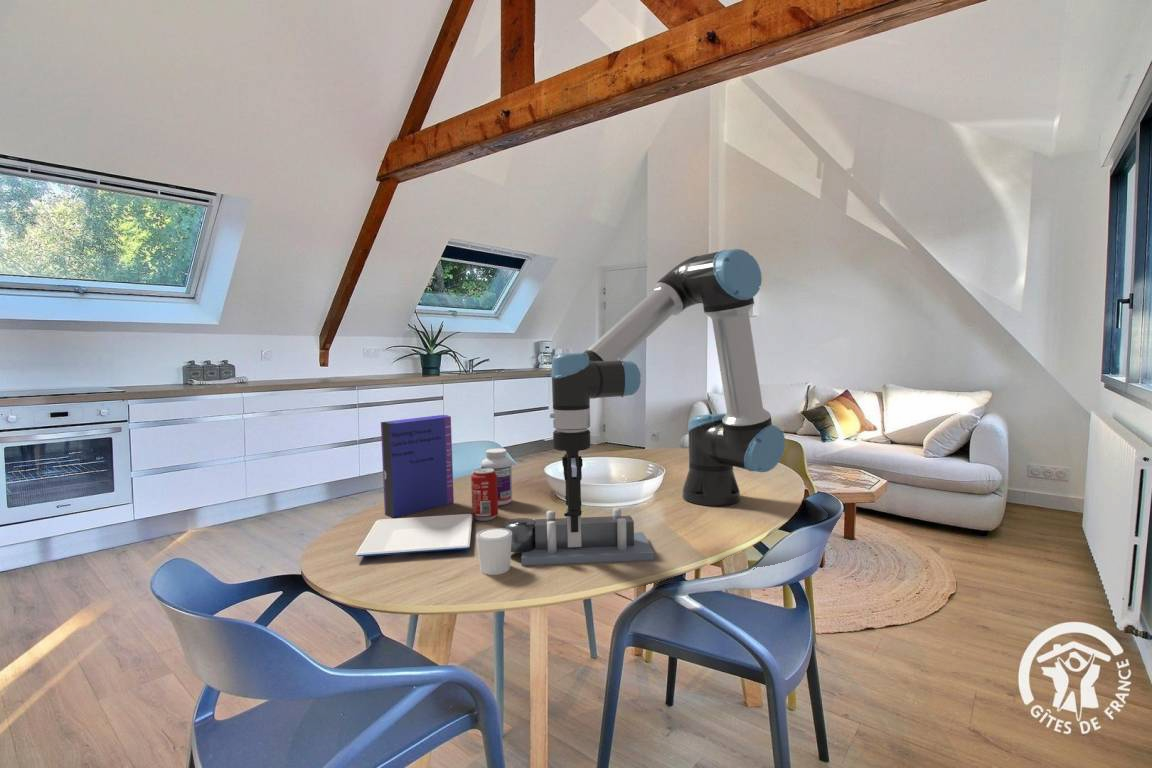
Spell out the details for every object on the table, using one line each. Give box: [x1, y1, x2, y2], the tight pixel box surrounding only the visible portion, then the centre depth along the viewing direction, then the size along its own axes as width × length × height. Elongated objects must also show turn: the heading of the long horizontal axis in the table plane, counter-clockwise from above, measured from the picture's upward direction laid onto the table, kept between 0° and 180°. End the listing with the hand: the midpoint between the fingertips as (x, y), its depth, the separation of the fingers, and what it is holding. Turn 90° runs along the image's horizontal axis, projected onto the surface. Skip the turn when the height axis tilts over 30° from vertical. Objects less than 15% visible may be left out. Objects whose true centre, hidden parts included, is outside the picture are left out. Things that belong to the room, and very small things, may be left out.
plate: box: [355, 513, 473, 557], centre depth 124 cm, size 22×22×2 cm
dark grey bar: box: [504, 515, 635, 554], centre depth 115 cm, size 26×6×5 cm, turn 94°
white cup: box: [475, 527, 512, 576], centre depth 107 cm, size 7×7×7 cm
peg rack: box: [520, 507, 655, 566], centre depth 115 cm, size 26×12×8 cm, turn 94°
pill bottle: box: [481, 448, 513, 507], centre depth 151 cm, size 8×8×14 cm
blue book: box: [380, 414, 455, 519], centre depth 147 cm, size 17×5×24 cm, turn 135°
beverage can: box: [470, 468, 499, 522], centre depth 138 cm, size 6×6×12 cm
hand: (573, 541), depth 115 cm, fingers open, 4 cm apart
